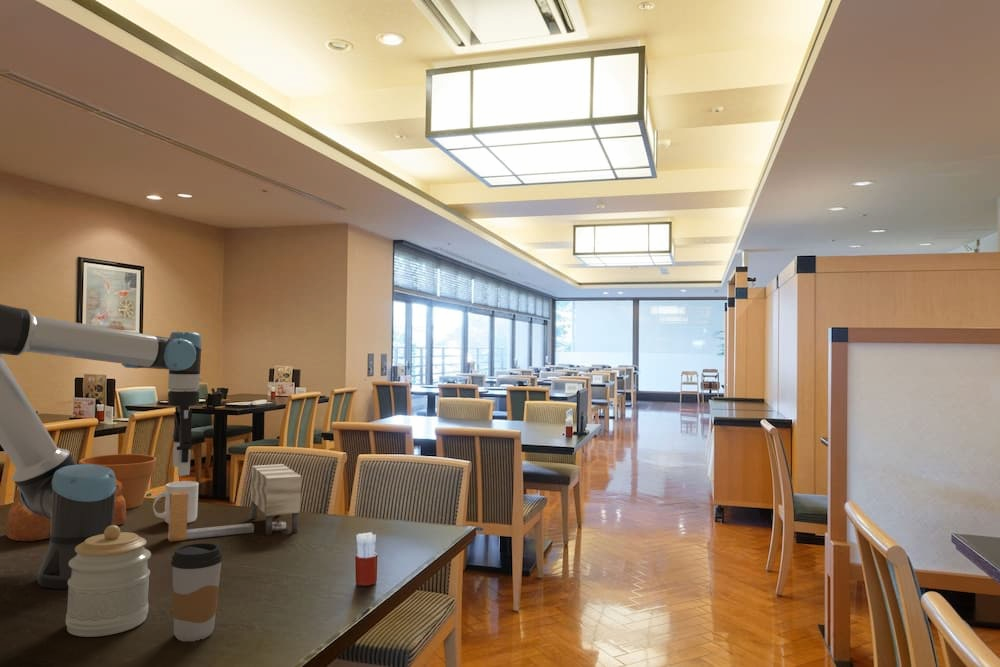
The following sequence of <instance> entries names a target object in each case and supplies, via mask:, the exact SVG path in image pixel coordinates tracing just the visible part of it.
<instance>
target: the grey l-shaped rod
mask: <svg viewBox="0 0 1000 667" xmlns="http://www.w3.org/2000/svg"><path fill="white" fill-rule="evenodd" d="M187 512H188V493H187V491H180V492H170V503H169V524H168V531H167V532H168V533H167V539H168V542H170V543H171V542H181V541H187V540H196V539H204V538H213V537H222V536H223V537H224V536H232V535H240V534H250V533H252V534H253V533H254V532H255V525H254V524H253V523H252V522H249V523H238V524H230V525H220V526H218V525H217V526H207V527H200V528H199V527H198V528H189V529H188V526H187V525H188V523H187Z"/></svg>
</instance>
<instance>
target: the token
mask: <svg viewBox="0 0 1000 667" xmlns="http://www.w3.org/2000/svg"><path fill="white" fill-rule="evenodd" d="M286 529H287V522H286V521H280V520H279V521H277V520H274V521H272V532H275V531H277V532H279V531H283V530H286ZM278 530H279V531H278Z"/></svg>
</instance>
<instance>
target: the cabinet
mask: <svg viewBox="0 0 1000 667" xmlns="http://www.w3.org/2000/svg"><path fill="white" fill-rule="evenodd" d="M301 493H302V475H300V474H299V473H298V472H295V471H294V470H293V469H291V468H290V467H288V466H287V465H285V464H283V463H278V464H277V463H276V464H264V465H263V464H262V465H261V464H260V465H259V464H257V465H251V485H250V500H251V515H250V516H251V518H250V520H251V519H252V520H256V519H258V509H260V510H261V512H262V513H263V514H264V516H266V517H265V536H267V537H269V536H272V535H273V534H272V532H273V531H272V522H273V516H275V517H281V516H282V515H288V514H291V516H292V517H291V533H298V531H299V513H301V497H302V495H301Z"/></svg>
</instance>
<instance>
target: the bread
mask: <svg viewBox="0 0 1000 667" xmlns="http://www.w3.org/2000/svg"><path fill="white" fill-rule="evenodd" d="M115 482H116V490H115V505H114V523H113V525H116V526H119V525H123V524H124V523H126V519H127V509H126V504H125V499H124V498H123V496H122V483H121V482H119V481H118V480H116V479H115ZM13 495H14V496H13V498H12V499H13V503H12V505H11V506H10V508H9V510H8V514H7V519H6V524H5V525H6V526H5V536H6V537H7V538H8V539H10V540H12V541H16V542H34V541H35V542H36V541H41V540H46V539H50V524H51V519H48V518H46V517H43V516H40V515H37V514H35V513H33V512H31V511H30V510H29V509H28V508H27V507H26V506H25V505H24V504H23V502H22V500H21V498H20V494H19V488H18V489H16V491H15V492H14V494H13Z"/></svg>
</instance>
